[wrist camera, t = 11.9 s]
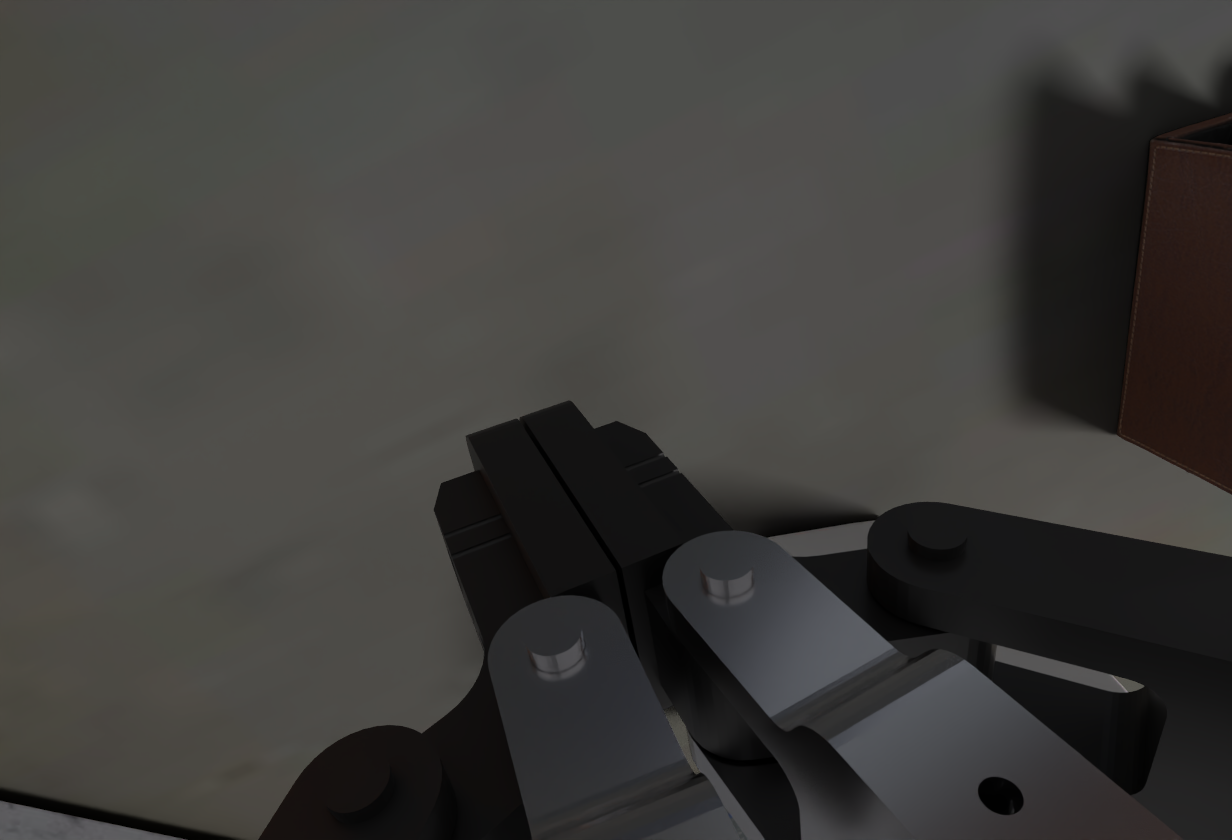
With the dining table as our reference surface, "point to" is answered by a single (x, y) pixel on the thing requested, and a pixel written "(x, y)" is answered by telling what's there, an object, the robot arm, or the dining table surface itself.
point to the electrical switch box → (856, 539)
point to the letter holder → (1184, 306)
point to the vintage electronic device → (62, 826)
